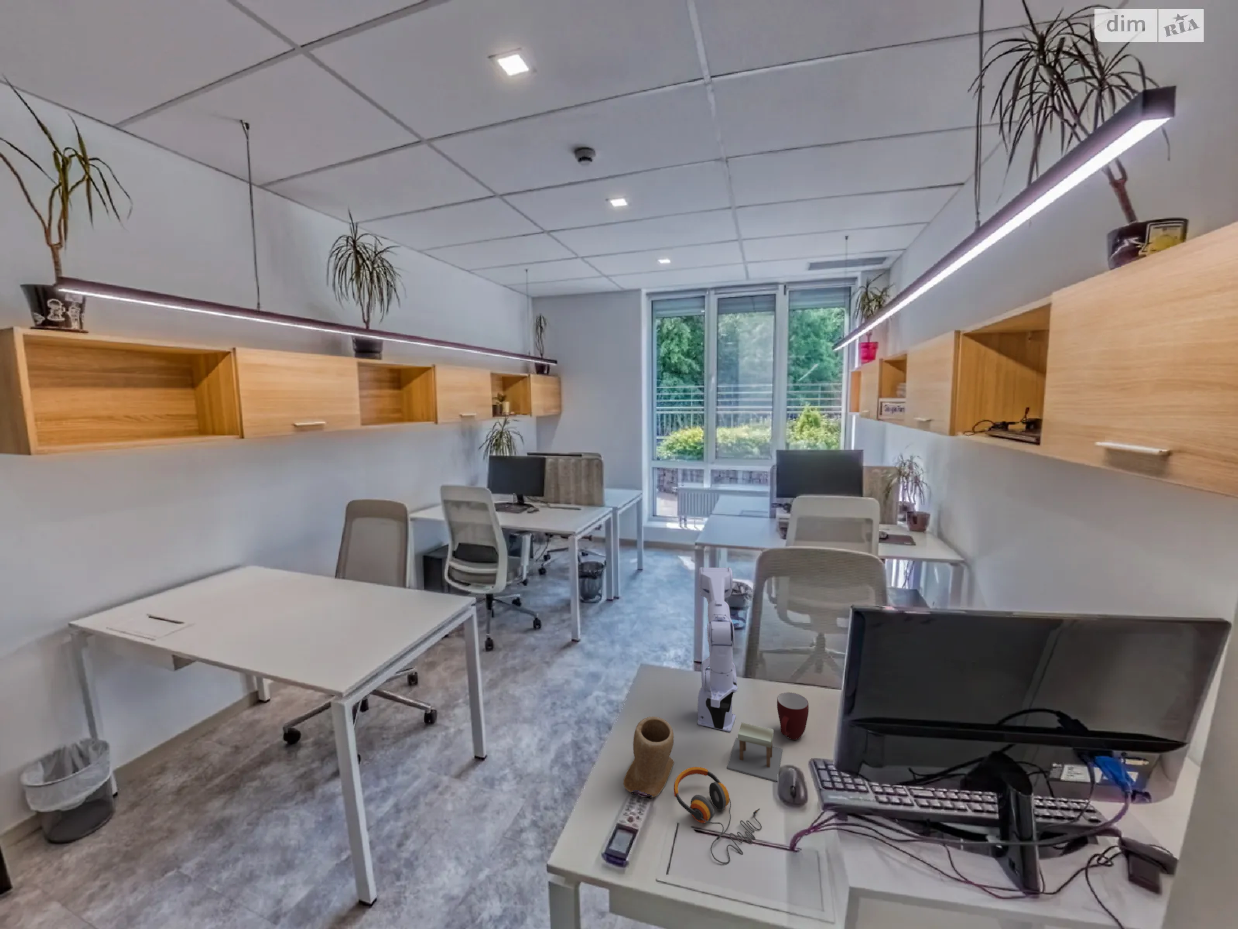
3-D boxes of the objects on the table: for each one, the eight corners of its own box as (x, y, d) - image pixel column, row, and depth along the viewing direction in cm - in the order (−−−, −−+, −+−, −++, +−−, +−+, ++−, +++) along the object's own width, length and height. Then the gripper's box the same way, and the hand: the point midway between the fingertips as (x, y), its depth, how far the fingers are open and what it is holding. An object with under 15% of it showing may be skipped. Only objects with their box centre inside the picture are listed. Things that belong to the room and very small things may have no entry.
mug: (801, 754, 125) (801, 718, 124) (770, 743, 129) (770, 708, 128) (811, 732, 133) (811, 697, 132) (782, 722, 138) (781, 689, 137)
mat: (727, 768, 121) (727, 767, 120) (736, 739, 131) (736, 737, 131) (777, 782, 116) (777, 780, 115) (782, 750, 126) (782, 748, 126)
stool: (771, 768, 120) (770, 741, 119) (738, 759, 123) (737, 734, 122) (773, 755, 124) (773, 729, 123) (742, 747, 127) (741, 722, 127)
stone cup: (664, 809, 109) (662, 747, 107) (617, 793, 114) (615, 733, 113) (686, 765, 122) (684, 709, 121) (642, 752, 128) (641, 698, 126)
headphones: (727, 861, 93) (657, 782, 107) (723, 881, 94) (654, 800, 109) (777, 814, 103) (707, 748, 118) (772, 833, 105) (703, 765, 119)
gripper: (731, 685, 114) (732, 740, 115) (742, 658, 127) (743, 707, 129) (702, 679, 117) (703, 733, 118) (715, 653, 130) (716, 701, 131)
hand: (722, 719), depth 124 cm, fingers open, 7 cm apart
